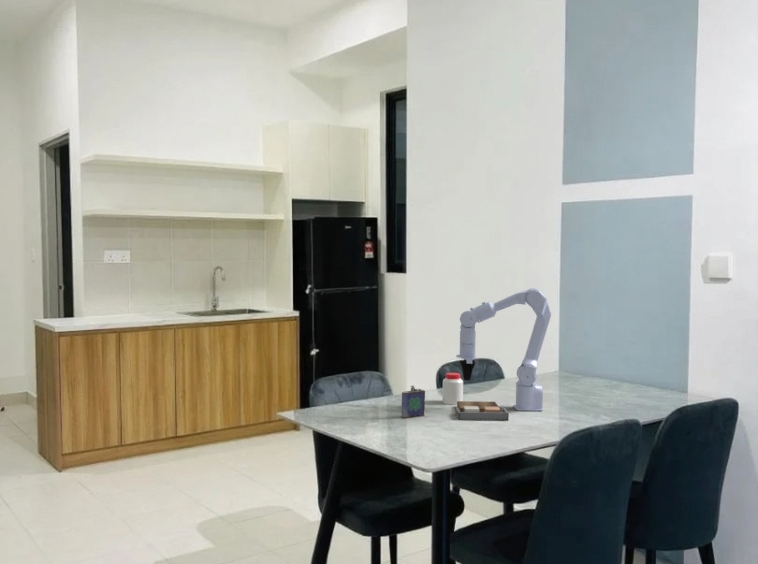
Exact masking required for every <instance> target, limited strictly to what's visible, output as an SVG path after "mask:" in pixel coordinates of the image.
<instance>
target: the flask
mask: <svg viewBox="0 0 758 564" xmlns="http://www.w3.org/2000/svg"><path fill="white" fill-rule="evenodd" d="M409 388H410V390H406V391H401V416H400V417H401V418H402V419H410V418H411V419H412V418H418V417H424V416H425V402H426V401H425V400H426V390H424V389H421V388H415V385H410V386H409Z"/></svg>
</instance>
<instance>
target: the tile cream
mask: <svg viewBox="0 0 758 564" xmlns="http://www.w3.org/2000/svg"><path fill="white" fill-rule="evenodd" d="M463 412H479V408H478V406H463Z"/></svg>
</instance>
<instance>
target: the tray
mask: <svg viewBox="0 0 758 564" xmlns="http://www.w3.org/2000/svg"><path fill="white" fill-rule="evenodd" d="M456 414H457V415H456ZM455 415H456V417H457V419H458V421H509V419H510V415H509V412H508V410H507V409H506V408H505V407H502V412H500V413H485V412H460V410H459V408H458V407H457V406H456V407H455Z"/></svg>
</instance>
